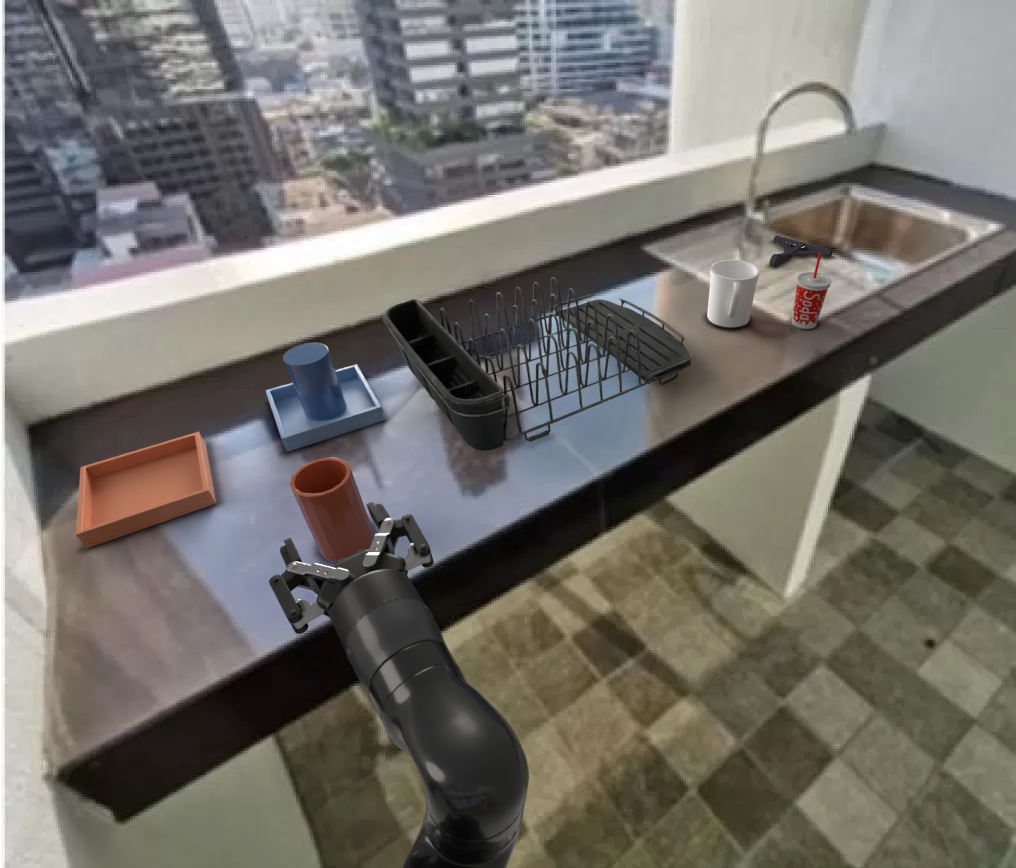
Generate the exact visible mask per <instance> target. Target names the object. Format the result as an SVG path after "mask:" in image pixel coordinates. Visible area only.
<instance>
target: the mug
mask: <svg viewBox="0 0 1016 868" xmlns="http://www.w3.org/2000/svg"><path fill="white" fill-rule="evenodd" d="M760 271H761V270H760V268H759V266H757V265H756V264H754V263H752V262H749V261H747V260H742V259H722V260H718V261H715V262H713V263H712V264H711V265H710V270H709V289H708V290H709V291H708V304H707V311H706V312H707V315H706V319H707V321H708V323H709V324H710V325H711V326H713V327H716V328H718V329H722V330H728V331H731V330H732V331H733V330H735V331H736V330H741V329H743V328H745V327H746V326H747V325H748V324H749V323H750V320H751V319H750V318H751V313H752V309H753V303H754V298H755V294H756V288H757V284H758V281H759V277H760V273H761V272H760Z"/></svg>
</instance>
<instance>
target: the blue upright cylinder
mask: <svg viewBox="0 0 1016 868" xmlns="http://www.w3.org/2000/svg"><path fill="white" fill-rule="evenodd" d="M282 360H283V363H284V365H285V368H286V371H287V373H288V376H289V378H290V381H291V383H293V386H294V388H295V391H296V393H297V396H298V398H299V401H300V403H301V406H302V408H303V411H304V414H305V416H306V417H307V418H308V419H311V420H314V421H323V420H328V419H332V418H334V417H336V416H338V415H340V414H341V413H342V412H343V411H344V410H345V409H346V406H347V403H346V400H345V397H344V394H343V391H342V388H341V385H340V382H339V379H338V376H337V373H336V370H337V369H336V368H335V365H334V362H333V359H332V356H331V352H330V351H329V348H328V346H327V345H325V344H323V343H319V342H309V343H308V342H307V343H302V344H298V345H296V346H294V347H292V348H290V349H288V350H287V351H286V352H284V355H283V357H282Z"/></svg>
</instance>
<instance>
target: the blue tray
mask: <svg viewBox="0 0 1016 868" xmlns="http://www.w3.org/2000/svg"><path fill="white" fill-rule="evenodd" d="M335 370H336V373H337V376H338V379H339V382H340V385H341V388H342V391H343V394H344V397H345V400H346V403H347V406H346V409H345V410H344V411H343V412H342V413H341V414H340V415H338V416H336V417H334V418H332V419H328V420H323V421H314V420H311V419H308V418H307V417H306V416H305V414H304V411H303V408H302V406H301V403H300V401H299V398H298V396H297V393H296V391H295V388H294V386H293V383H292V382H290V383H287V384H283V385H279V386H275V387H273V388H269V389H266V390H265V394H266V397H267V400H268V403H269V406H270V409H271V413H272V415H273V417H274V421H275V424H276V427H277V429H278V430H277V431H278V433H279V435H280V439H281V441H282V443H283V446H284V448H285V449H286V450H285V451H286V452H287V453H288V452H292V451H295V450H298V449H301V448H305V447H307V446H310V445H313V444H316V443H319V442H322V441H326V440H329V439H331V438H334V437H337V436H341V435H344V434H346V433H351V432H353V431H356V430H358V429H359V430H360V429H362V428H365V427H369V426H371V425H374V424H376V423H380V422H383V421H385V420H386V417H385V414H384V411H383V408H382V406H381V404H380V402H379V400H378V398H377V397H376V395H375V394H374V392H373V389H372V388H371V386H370V385H369V382H368V381H367V379H366V377H365V375H364V374H363V373H362V370H361V369H360V367H359V365H358V364H357V363H356V364H352V365H349V366H345V367H343V368H338V369H335Z"/></svg>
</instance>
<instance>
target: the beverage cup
mask: <svg viewBox="0 0 1016 868" xmlns="http://www.w3.org/2000/svg"><path fill="white" fill-rule="evenodd" d="M821 254H822V252H819V255H817V260H816V263H815V268H814V271H813V272H812V271H805V272H801V273H799V274H797V276H796V280H795V282H796V287H795V288H796V289H795V296H794V302H793V309H792V310H793V311H792V316H791V324H792V325H793V327H796V328H799V329H804V330H810V329H814V328H816V327H817V323H818V321H819V317H820V315H821V312H822V309H823V305H824V302H825V300H826V296H827V293H828V290H829V289H830V287H831V284H832V282H833V281H832V278H831V277H830V276H828V275H826V274H824V273H821V272H818V271H819V266H820V262H821V258H822V256H821Z"/></svg>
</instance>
